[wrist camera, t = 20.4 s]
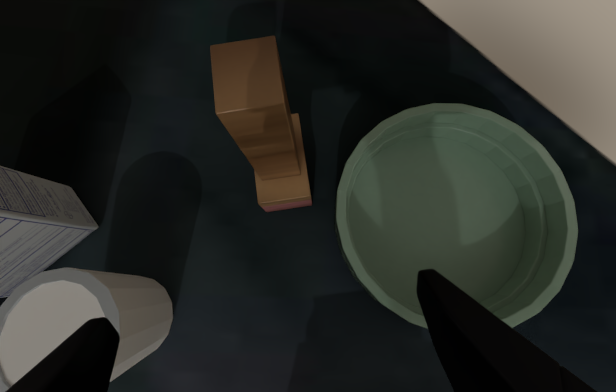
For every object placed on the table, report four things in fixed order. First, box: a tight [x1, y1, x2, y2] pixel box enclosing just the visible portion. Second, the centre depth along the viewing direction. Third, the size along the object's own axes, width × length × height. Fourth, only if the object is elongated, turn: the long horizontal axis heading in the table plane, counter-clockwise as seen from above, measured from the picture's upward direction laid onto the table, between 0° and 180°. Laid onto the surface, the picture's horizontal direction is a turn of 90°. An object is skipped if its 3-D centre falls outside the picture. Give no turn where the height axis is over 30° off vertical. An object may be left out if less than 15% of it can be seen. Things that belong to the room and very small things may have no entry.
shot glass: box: [0, 268, 173, 392], centre depth 19 cm, size 7×7×7 cm
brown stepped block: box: [210, 36, 312, 212], centre depth 18 cm, size 6×4×12 cm, turn 8°
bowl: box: [334, 103, 578, 329], centre depth 21 cm, size 14×14×4 cm
